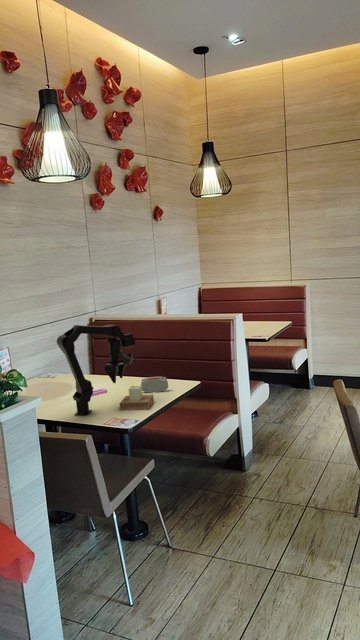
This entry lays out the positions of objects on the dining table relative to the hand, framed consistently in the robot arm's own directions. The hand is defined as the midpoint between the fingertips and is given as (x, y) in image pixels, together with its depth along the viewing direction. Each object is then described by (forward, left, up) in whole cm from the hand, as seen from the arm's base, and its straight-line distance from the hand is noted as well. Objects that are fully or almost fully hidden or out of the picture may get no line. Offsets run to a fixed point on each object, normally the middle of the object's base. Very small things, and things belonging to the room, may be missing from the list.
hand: (118, 380), depth 256 cm
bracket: (+17, +20, -12) cm, 29 cm away
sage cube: (-5, -10, -8) cm, 14 cm away
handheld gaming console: (+19, -13, -12) cm, 26 cm away
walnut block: (-4, -10, -12) cm, 17 cm away
